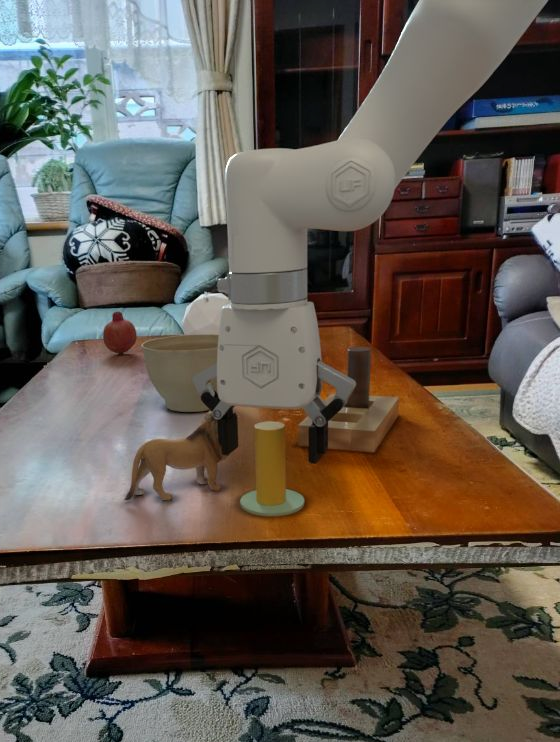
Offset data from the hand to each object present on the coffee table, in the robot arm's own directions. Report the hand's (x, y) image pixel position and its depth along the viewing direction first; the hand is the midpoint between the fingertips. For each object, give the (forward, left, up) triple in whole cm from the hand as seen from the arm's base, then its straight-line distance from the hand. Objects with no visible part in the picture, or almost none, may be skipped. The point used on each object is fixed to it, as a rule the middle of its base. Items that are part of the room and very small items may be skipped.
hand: (272, 455), depth 73 cm
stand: (-2, -28, -6) cm, 29 cm away
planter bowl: (+26, -35, -6) cm, 44 cm away
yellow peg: (0, 0, -5) cm, 5 cm away
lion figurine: (+11, -1, -6) cm, 13 cm away
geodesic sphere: (+41, -77, -6) cm, 87 cm away
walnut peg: (-2, -32, -6) cm, 32 cm away
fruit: (+64, -74, -6) cm, 98 cm away
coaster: (0, 0, -6) cm, 6 cm away
